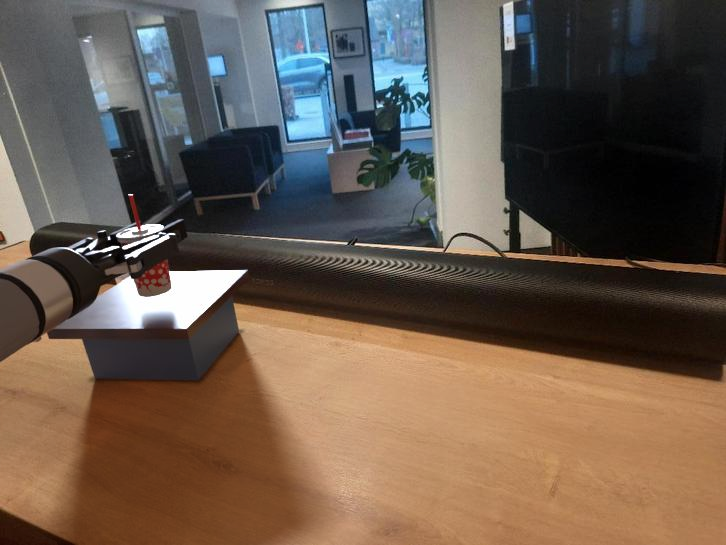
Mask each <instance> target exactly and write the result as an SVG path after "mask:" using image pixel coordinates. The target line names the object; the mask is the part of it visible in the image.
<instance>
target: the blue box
mask: <svg viewBox="0 0 726 545" xmlns="http://www.w3.org/2000/svg"><path fill="white" fill-rule="evenodd" d="M239 328H240V327H239V323H238V319H237V314H236V308H235V303H234V299H233V295H232V296H231V298H230V299H229V300H228V301H227V302H226V303H225V304H224V305H223V306H222V307H221V308H220V309H219V310H218V311H217V312H216V313H215V314H214V315H213V316H212V317H211V318H210V319H209V320H208V321H207V322H206V323H205V324H204V325H203V326H202V327H201V328H200V329H199V330H198V331H197V332H196V333H195V334H194V335H193V336H192V337H191V338H190V339H81V341H82V343H83V344H82V345H83V347H84V350H85V354H86V356H87V360H88V362H89V365H90V368H91V371H92V374H93V377H94V379H95V380H97V379H99V380H146V381H147V380H148V381H150V380H152V381H200V380H201V379H202V377H203V376H204V375H205V373H206V372H207V371H208V370H209V369H210V368H211V366H212V365H213V364H214V363H215V361H216V360H217V359H218V358H220V356H221V354H222V353H223V352H224V351H225V349H226V348H227V347H228V346H229V345H230V344H231V342H232V341H233V340H234V338H235V337H236V336H237V335H238V334H239V332H240V329H239Z"/></svg>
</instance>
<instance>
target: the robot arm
mask: <svg viewBox="0 0 726 545" xmlns="http://www.w3.org/2000/svg"><path fill="white" fill-rule="evenodd" d="M140 225H141V226H144V225H143V222H142V221H140ZM134 227H137V225H136V221H135V222H132V223H131V224H129V225H126V226H124V227H122V228H120V229H118V230H116V231H114V232H111V233H109V236H108V233H107V230H99V231H97V232H96V235H97V238H96V239H94V238H93V237H86V238H84V239H82V240H80V241H78V242H76V243H73V244H72V245H69V246H68V247H52V248H48V249H45V250H43V251H41V252H39V253H37V254H34V255H32V256H30V257H28V258H25V259H22V260H19V261H17V262H14V263H12V264H9V265H7V266H6V267H3V268H1V269H0V363H1V362H3V361H5V360H6V359H8V358H9V357H10V356H12V355H14V354H15V353H17V352H18V351H20V350H21V349H23V348H24V347H26V346H28V345H30V344H31V343H38V342H40V341H42V336H44V335H47V332H49V331H50V330H52V329H53V328H55V327H57V326H58V325H60V324H61V323H63V322H64V321H66V320H68V319H70V318H72V317H73V316H75V315H77V314H78V313H80V312H81V311H83V310H84V309H86V308H88V307H89V306H90V305H92V304H93V303H94V301H95V300H96V298H97V297H98V296H99V293H100V290H101V287H102V286H105V285H108V284H109V283H111V282H112V281H113V280H115V278H116V277H119V276H121V275H124V274H126V273H129V275H130V277H131V279H137V278H140V277H141V276H142V275H143V274H144V273H145V272H146V271H147V270H149V269H151V268H153V267H154V266H156V265H158V264H160V263H161V262H163V261H165V260H169V259H170V258H172V257H174V256H176V255H177V254H180V249H179V243H180V242H182V241H183V240H185V239H187V238H189V236H188V232H187V228H186V222H185V219H184V218H181V219H177V220H176V221H173V222H171V223H169V224H167V225H166V226H163V227H164V228H162V229H160V230H158V231H156V232H154V233H155V235H154V236H151V237H149V238H146V239H143V240H140V241H138V242H135V243H132V244H130V245H127V246H124V247H122V246H121V243H120V242H118V239H117V237H116V235H117V233H119V232H121V231H124V230H127V229H130V228H134Z"/></svg>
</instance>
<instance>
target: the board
mask: <svg viewBox="0 0 726 545" xmlns="http://www.w3.org/2000/svg"><path fill="white" fill-rule="evenodd" d="M169 272H170V277H171V283H172V289H171V290H170V291H168V292H166V293H164V294H161V295H158V296H153V297H141V296H139V294H138V292H137V289H136V286H135V283H134V280H133V279H131V277H128V278H127V279H125V280H123V281H122V282H120V283H119V284H117V283H116V285H113V286H112V287H110V288H109V289H107V290H105V291H104V292H103V293H101V294H98V296H97V298H96V300H95V301H94V303H93V304H92V305H90V306H89V307H88V308H86V309H84V310H83V311H81V312H80V313H78V314H77V315H75V316H73V317H72V318H70V319H68V320H66V321H64V322H63V323H61V324H60V325H58V326H57V327H55V328H53V329H52V330H50V331H49V332H47V333H46V335H47V337H48V339H49V340H82V339H190V338H191V337H192V336H193V335H194V334H195V333H196V332H197V331H198V330H199V329H200V328H201V327H202V326H203V325H204V324H205V323H206V322H207V321H208V320H209V319H210V318H211V317H212V316H213V315H214V314H215V313H216V312H217V311H218V310H219V309H220V308H221V307H222V306H223V305H224V304H225V303H226V302H227V301H228V300H229V299H230V298H231V296H232V297H233V296H234V295H235V294H236V293H237V292H238V291H239V290H240V289H241V288H242V287H243V286H244V285H245V284H246V283H247V282H248V280H250V274H249V270H248V269H233V270H231V269H230V270H196V271H169Z"/></svg>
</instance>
